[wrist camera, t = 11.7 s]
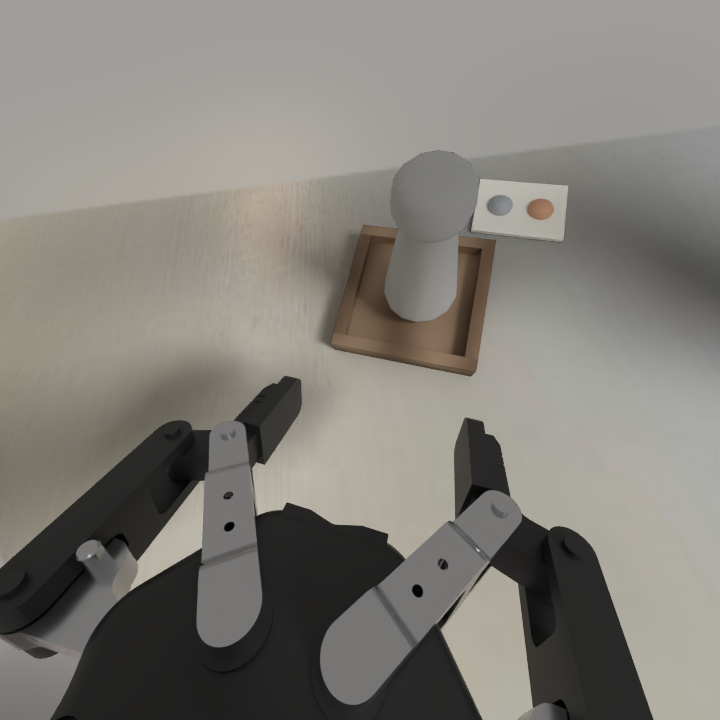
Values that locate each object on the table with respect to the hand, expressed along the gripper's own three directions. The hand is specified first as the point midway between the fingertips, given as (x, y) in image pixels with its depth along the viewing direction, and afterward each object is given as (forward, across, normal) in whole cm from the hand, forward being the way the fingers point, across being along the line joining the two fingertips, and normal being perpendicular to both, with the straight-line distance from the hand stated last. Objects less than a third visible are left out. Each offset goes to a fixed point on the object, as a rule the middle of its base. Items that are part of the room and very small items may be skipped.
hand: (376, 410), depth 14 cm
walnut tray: (+16, 0, 0) cm, 16 cm away
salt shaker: (+15, -1, -1) cm, 15 cm away
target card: (+23, -8, -8) cm, 26 cm away
